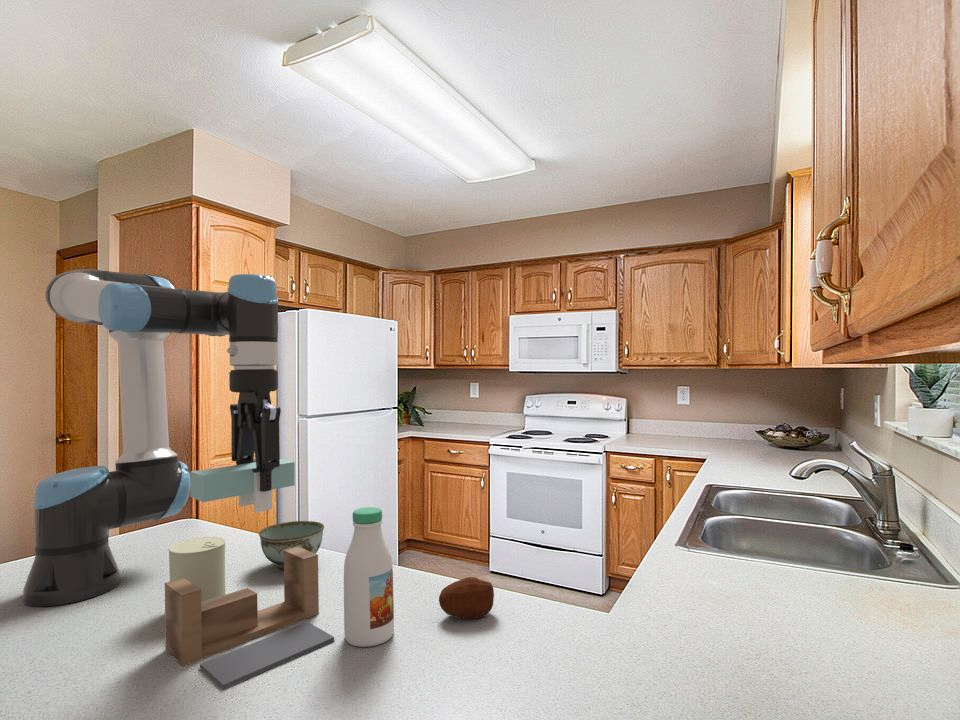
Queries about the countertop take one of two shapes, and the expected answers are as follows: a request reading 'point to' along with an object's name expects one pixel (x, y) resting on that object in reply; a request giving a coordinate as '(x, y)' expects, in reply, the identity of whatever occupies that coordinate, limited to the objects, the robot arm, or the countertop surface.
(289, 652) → the mat
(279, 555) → the bowl
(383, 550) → the milk bottle
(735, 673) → the countertop surface
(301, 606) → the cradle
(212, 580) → the can
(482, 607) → the potato
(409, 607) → the countertop surface
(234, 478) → the slab
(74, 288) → the robot arm
